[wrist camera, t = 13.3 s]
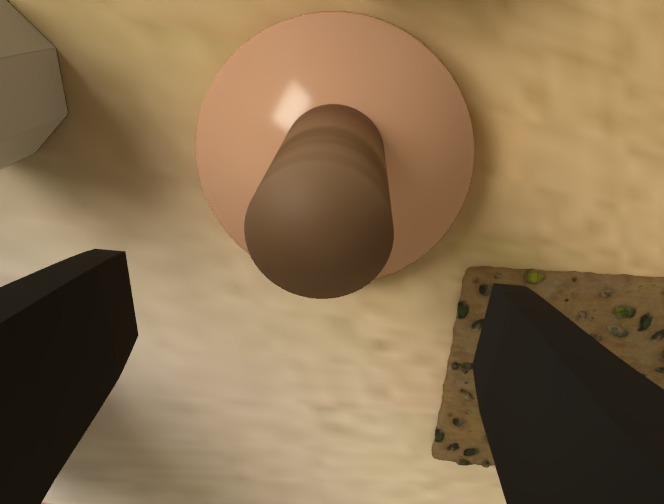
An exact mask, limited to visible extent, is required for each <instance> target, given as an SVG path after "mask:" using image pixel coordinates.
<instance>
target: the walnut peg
mask: <svg viewBox="0 0 664 504" xmlns="http://www.w3.org/2000/svg"><path fill="white" fill-rule="evenodd" d="M244 234H245V241H246V245H247V248H248V251H249V253H250V256H251V258H252V259H253V261H254V263H255V264H256V266H257V267H258V268H259V270H260V271H261V272H262V273H263V274H264V275H265V276H266V277H267V278H268V279H269V280H270V281H272V282H273V283H274V284H276V285H277V286H279V287H281V288H282V289H284V290H286V291H288V292H291V293H293V294H296V295H299V296H304V297H308V298H317V299H328V298H336V297H341V296H345V295H348V294H350V293H353V292H355V291H357V290H359V289H361V288H363V287H364V286H366V285H367V284H369V283H370V282H371V281H372V280H373V279H375V278H376V276H377V275H378V274H379V273H380V272H381V271H382V269H383V268H384V266H385V265H386V263H387V261H388V259H389V257H390V254H391V251H392V247H393V241H394V227H393V218H392V210H391V202H390V193H389V185H388V176H387V168H386V159H385V151H384V144H383V140H382V137H381V135H380V132H379V131H378V129H377V127H376V126H375V124H374V123H373V122H372V121H371V120H370V119H369V118H368V117H367V116H366V115H365V114H363V113H362V112H360V111H358V110H357V109H355V108H352V107H349V106H346V105H341V104H326V105H321V106H318V107H315V108H312V109H310V110H308V111H307V112H305V113H304V114H302V115H301V116H300V117H299V118H298V119H297V120H296V121H295V122H294V123H293V125H292V126H291V128H290V130H289V131H288V133H287V135H286V137H285V139H284V141H283V142H282V144H281V146H280V148H279V150H278V152H277V153H276V155H275V157H274V159H273V161H272V162H271V164H270V166H269V168H268V170H267V172H266V173H265V175H264V177H263V179H262V181H261V183H260V184H259V186H258V188H257V190H256V192H255V194H254V195H253V197H252V199H251V201H250V203H249V205H248V208H247V212H246V215H245V222H244Z"/></svg>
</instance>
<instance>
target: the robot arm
mask: <svg viewBox="0 0 664 504" xmlns="http://www.w3.org/2000/svg"><path fill="white" fill-rule="evenodd" d="M137 337H138V330H137V324H136V317H135V311H134V305H133V298H132V292H131V285H130V279H129V273H128V266H127V260H126V253H125V251H113V250H102V249H93V250H90V251H86V252H83V253H81V254H78V255H75V256H73V257H70V258H68V259H65V260H63V261H60V262H58V263H55V264H53V265H51V266H48V267H46V268H44V269H41V270H39V271H37V272H35V273H32V274H30V275H28V276H25V277H23V278H21V279H18V280H16V281H14V282H11V283H9V284H7V285H5V286H2V287H0V504H41V502H42V501H43V499H44V497H45V495H46V494H47V492H48V490H49V489H50V487H51V485H52V483H53V482H54V480H55V478H56V477H57V475H58V474H59V472H60V471H61V469H62V467H63V466H64V464H65V463H66V461H67V460H68V458H69V457H70V455H71V453H72V452H73V450H74V449H75V447H76V446H77V444H78V442H79V441H80V439H81V438H82V436H83V435H84V433H85V431H86V430H87V428H88V427H89V425H90V424H91V422H92V421H93V419H94V417H95V416H96V414H97V413H98V411H99V410H100V408H101V406H102V405H103V403H104V402H105V400H106V398H107V397H108V395H109V394H110V392H111V390H112V389H113V387H114V385H115V384H116V382H117V381H118V379H119V377H120V375H121V373H122V371H123V369H124V366H125V364H126V362H127V360H128V358H129V356H130V353H131V351H132V349H133V346H134V344H135V342H136V339H137ZM472 367H473V374H474V381H475V388H476V395H477V401H478V406H479V412H480V415H481V419H482V423H483V426H484V429H485V433H486V436H487V440H488V443H489V446H490V450H491V453H492V456H493V460H494V463H495V466H496V470H497V473H498V476H499V480H500V483H501V486H502V490H503V493H504V496H505V499H506V503H507V504H664V389H662V388H661V387H660V386H658V385H657V384H655V383H654V382H652V381H651V380H650V379H648V378H647V377H645V376H644V375H643V374H641V373H640V372H638V371H637V370H635V369H634V368H633V367H631V366H630V365H629V364H627V363H626V362H624V361H623V360H622V359H620V358H619V357H618V356H616V355H615V354H614V353H612V352H611V351H610V350H608V349H607V348H606V347H604V346H603V345H602V344H601V343H599V342H598V341H597V340H595V339H594V338H593V337H592V336H590V335H589V334H588V333H586V332H585V331H584V330H583V329H581V328H580V327H579V326H578V325H576V324H575V323H574V322H573V321H571V320H570V319H569V318H568V317H566V316H565V315H564V314H563V313H561V312H560V311H559V310H558V309H556V308H555V307H554V306H552V305H551V304H550V303H549V302H547V301H546V300H545V299H543V298H542V297H541V296H539V295H538V294H537V293H535V292H534V291H533V290H531V289H529V288H528V287H526V286H522V285H510V284H498V283H493V286H492V290H491V294H490V298H489V302H488V306H487V310H486V314H485V317H484V321H483V325H482V329H481V333H480V337H479V341H478V344H477V348H476V352H475V356H474V360H473V364H472Z"/></svg>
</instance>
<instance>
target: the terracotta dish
mask: <svg viewBox="0 0 664 504" xmlns="http://www.w3.org/2000/svg"><path fill="white" fill-rule="evenodd" d="M326 104H341V105H346V106H349V107H352V108H355V109H357V110H358V111H360V112H362V113H363V114H365V115H366V116H367V117H368V118H369V119H370V120H371V121H372V122H373V123H374V124H375V126H376V127H377V129H378V131H379V132H380V135H381V137H382V140H383V144H384V151H385V159H386V168H387V176H388V185H389V193H390V202H391V210H392V218H393V227H394V241H393V247H392V251H391V254H390V257H389V259H388V261H387V263H386V265H385V266H384V268H383V269H382V271H381V272H380V273H379V274H378V275H377V276H376V278H375V279H378V278H381V277H384V276H387V275H390V274H392V273H394V272H396V271H398V270H401V269H403V268H405V267H406V266H408V265H409V264H411V263H413V262H414V261H416V260H418V259H419V258H420V257H421V256H423V255H424V254H425V253H427V252H428V251H429V250H430V249H431V248H432V247H433V246H434V245H435V244H436V243H437V242H438V241H439V240H440V239H441V238H442V237H443V236H444V234H445V233H446V232H447V231H448V229H449V228H450V227H451V225H452V224H453V222H454V220H455V219H456V217H457V215H458V214H459V212H460V210H461V208H462V205H463V203H464V201H465V198H466V196H467V193H468V190H469V186H470V183H471V179H472V173H473V166H474V136H473V129H472V122H471V119H470V115H469V112H468V108H467V105H466V103H465V101H464V98H463V96H462V94H461V92H460V89H459V87H458V86H457V84H456V82H455V81H454V79H453V78H452V76H451V74H450V73H449V71H448V70H447V69H446V68H445V66H444V65H443V64H442V63H441V62H440V60H439V59H438V58H437V57H436V56H435V55H434V54H433V53H432V52H431V51H430V50H429V49H428V48H427V47H425V46H424V45H423V44H422V43H421V42H420V41H419V40H418V39H416V38H415V37H413V36H412V35H410V34H409V33H407V32H406V31H404V30H403V29H401V28H399V27H397V26H395V25H393V24H391V23H389V22H386V21H384V20H382V19H378V18H375V17H372V16H368V15H365V14H360V13H353V12H346V11H324V12H317V13H310V14H305V15H301V16H298V17H295V18H291V19H288V20H285V21H283V22H280V23H278V24H276V25H274V26H272V27H270V28H268V29H265V30H263V31H262V32H260V33H259V34H257V35H256V36H254V37H253V38H251V39H250V40H248V41H247V42H246V43H245V44H243V45H242V46H241V47H240V48H239V49H238V50H237V51H236V52H235V53H233V54H232V56H231V57H230V58H229V59H228V60H227V62H226V63H225V64H224V65H223V66H222V68H221V69H220V70H219V72H218V73H217V75H216V77H215V78H214V80H213V82H212V83H211V85H210V87H209V89H208V91H207V94H206V96H205V98H204V101H203V103H202V107H201V111H200V114H199V118H198V123H197V131H196V162H197V169H198V175H199V178H200V182H201V186H202V189H203V192H204V194H205V197H206V199H207V201H208V204H209V206H210V208H211V210H212V211H213V213H214V215H215V217H216V218H217V220H218V221H219V223H220V224H221V225H222V227H223V228H224V230H225V231H226V232H227V233H228V235H229V236H230V237H231V238H232V239H233V240H234V241H235V242H236V243H237V244H238V245H239V246H240V247H241V248H242V249H244V250H245V251H246V252H247V253H248V254H249V255H250V253H249V251H248V248H247V245H246V241H245V234H244V222H245V215H246V212H247V208H248V205H249V203H250V201H251V199H252V197H253V195H254V194H255V192H256V190H257V188H258V186H259V184H260V183H261V181H262V179H263V177H264V175H265V173H266V172H267V170H268V168H269V166H270V164H271V162H272V161H273V159H274V157H275V155H276V153H277V152H278V150H279V148H280V146H281V144H282V142H283V141H284V139H285V137H286V135H287V133H288V131H289V130H290V128H291V126H292V125H293V123H294V122H295V121H296V120H297V119H298V118H299V117H300V116H301V115H302V114H304V113H305V112H307V111H308V110H310V109H312V108H315V107H318V106H321V105H326ZM375 279H373V280H375Z"/></svg>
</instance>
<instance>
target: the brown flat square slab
mask: <svg viewBox="0 0 664 504" xmlns="http://www.w3.org/2000/svg"><path fill="white" fill-rule="evenodd" d="M493 283H498V284H510V285H522V286H526V287H528V288H529V289H531V290H533V291H534V292H535V293H537V294H538V295H539V296H541V297H542V298H543V299H545V300H546V301H547V302H549V303H550V304H551V305H552V306H554V307H555V308H556V309H558V310H559V311H560V312H561V313H563V314H564V315H565V316H566V317H568V318H569V319H570V320H571V321H573V322H574V323H575V324H576V325H578V326H579V327H580V328H581V329H583V330H584V331H585V332H586V333H588V334H589V335H590V336H592V337H593V338H594V339H595V340H597V341H598V342H599V343H601V344H602V345H603V346H604V347H606V348H607V349H608V350H610V351H611V352H612V353H614V354H615V355H616V356H618V357H619V358H620V359H622V360H623V361H624V362H626V363H627V364H629V365H630V366H631V367H633V368H634V369H635V370H637V371H638V372H640V373H641V374H643V375H644V376H645V377H647V378H648V379H650V380H651V381H652V382H654V383H655V384H657V385H658V386H660V387H661V388H662V389H664V277H643V276H633V275H627V274H620V275H609V274H595V273H591V272H584V273H581V272H576V271H569V272H560V271H544V270H535V269H525V270H522V269H509V268H494V267H487V266H481V267H470V268H468V269H467V270H466V272H465V276H464V277H463V280H462V290H461V296H460V300H459V303H458V309H457V310H458V311H457V318H456V321H455V323H454V328H453V344H452V347H451V353H450V356H449V359H448V365H447V374H446V378H445V381H444V384H443V396H442V403H441V408H440V410H439V413H438V415H439V416H438V422H437V426H436V430H435V439H434V442H433V445H432V455H433V458H435V459H439V460H447V461H453V462H456V463H457V464H458V465H472V464H477V465H482V466H483V467H489V465H495V463H494V460H493V456H492V453H491V450H490V446H489V443H488V440H487V436H486V433H485V429H484V426H483V423H482V419H481V415H480V412H479V406H478V401H477V395H476V388H475V381H474V374H473V367H472V364H473V360H474V356H475V352H476V348H477V344H478V341H479V337H480V333H481V329H482V325H483V321H484V317H485V314H486V310H487V306H488V302H489V298H490V294H491V290H492V286H493Z"/></svg>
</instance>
